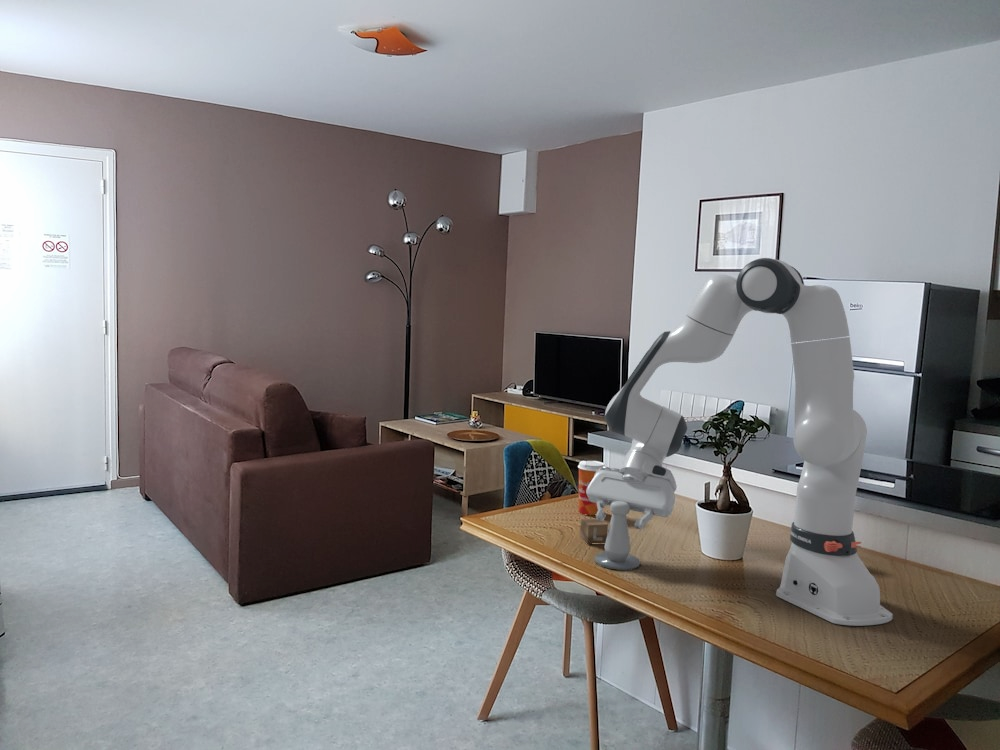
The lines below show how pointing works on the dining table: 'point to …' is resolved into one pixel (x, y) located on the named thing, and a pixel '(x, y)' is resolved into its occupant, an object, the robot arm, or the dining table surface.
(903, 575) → the dining table surface
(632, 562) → the coaster
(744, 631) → the dining table surface
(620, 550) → the salt shaker
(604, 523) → the cube
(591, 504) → the paper cup
